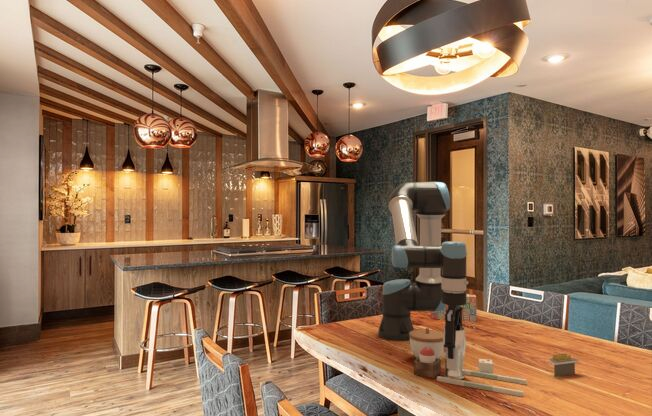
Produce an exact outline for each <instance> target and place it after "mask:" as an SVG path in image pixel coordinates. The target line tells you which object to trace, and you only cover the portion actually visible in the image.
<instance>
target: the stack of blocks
mask: <svg viewBox="0 0 652 416" xmlns="http://www.w3.org/2000/svg"><path fill="white" fill-rule="evenodd" d="M466 294H467V303H466V304H465V305H462V306H460V307H462V308H463V309H462V322H471V323H476V322H477V296H476V294H469V293H466ZM446 310H448V305H446V308H445V309H444V310H443V311H435V312H432V311H430V320H438V319H440V320H441V321H445V314H446Z"/></svg>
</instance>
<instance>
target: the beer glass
mask: <svg viewBox="0 0 652 416" xmlns="http://www.w3.org/2000/svg"><path fill="white" fill-rule="evenodd" d="M442 332H443V351H444V354H443V356H444V360H445V365H444V372H443V375H444V376H443V377H447V378H452V379H458V380H463V379H465V374H464V371H463V369H464V358H465V355H466V347H467V345H466V343H467V342H466V341H467V340H466V337H467V335H466V328H465V327H463V326H462V327H461V326H460V331H456V341H455V347H456V370H454V369H448V368H447V347H444V345H445V325H444V326H443V328H442Z"/></svg>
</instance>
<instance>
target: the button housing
mask: <svg viewBox="0 0 652 416" xmlns="http://www.w3.org/2000/svg"><path fill="white" fill-rule="evenodd" d="M412 363H413V364H412V365H413V371H412V372H413V375H416V376H422V377H426V378H433V379H437V376H439V374H441V372H442V359H441V358H440V359H439V358H435V363H434V364H430V363H424V362H419V357H418V358H415V359H414V361H413V362H412Z"/></svg>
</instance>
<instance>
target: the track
mask: <svg viewBox="0 0 652 416" xmlns="http://www.w3.org/2000/svg"><path fill="white" fill-rule="evenodd" d="M463 371H464V375H467V376H473V377H479V378H485V379H490V380H496V381H503V382H508V383H514V384H520V385H524V386H525V385H527V379H526V378H519V377H512V376H507V375H501V374H495V373H493V374H490V373H484V372H479V370H478V371H476V370H472V369H471V370H470V369H464V368H463ZM436 381H437V382H440V383H447V384H452V385H456V386H461V387H467V388H474V389H478V390H479V389H480V390H484V391H489V392H494V393H495V392H496V393H500V394H506V395H512V396H517V397H524V390H518V389H513V388H508V387H502V386H496V385H490V384H484V383H481V382H476V381H467V380H463V379H460V380H458V379H452V378H447V377H445V376H441V375H440V376H439V375H438V376H437V377H436Z"/></svg>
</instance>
